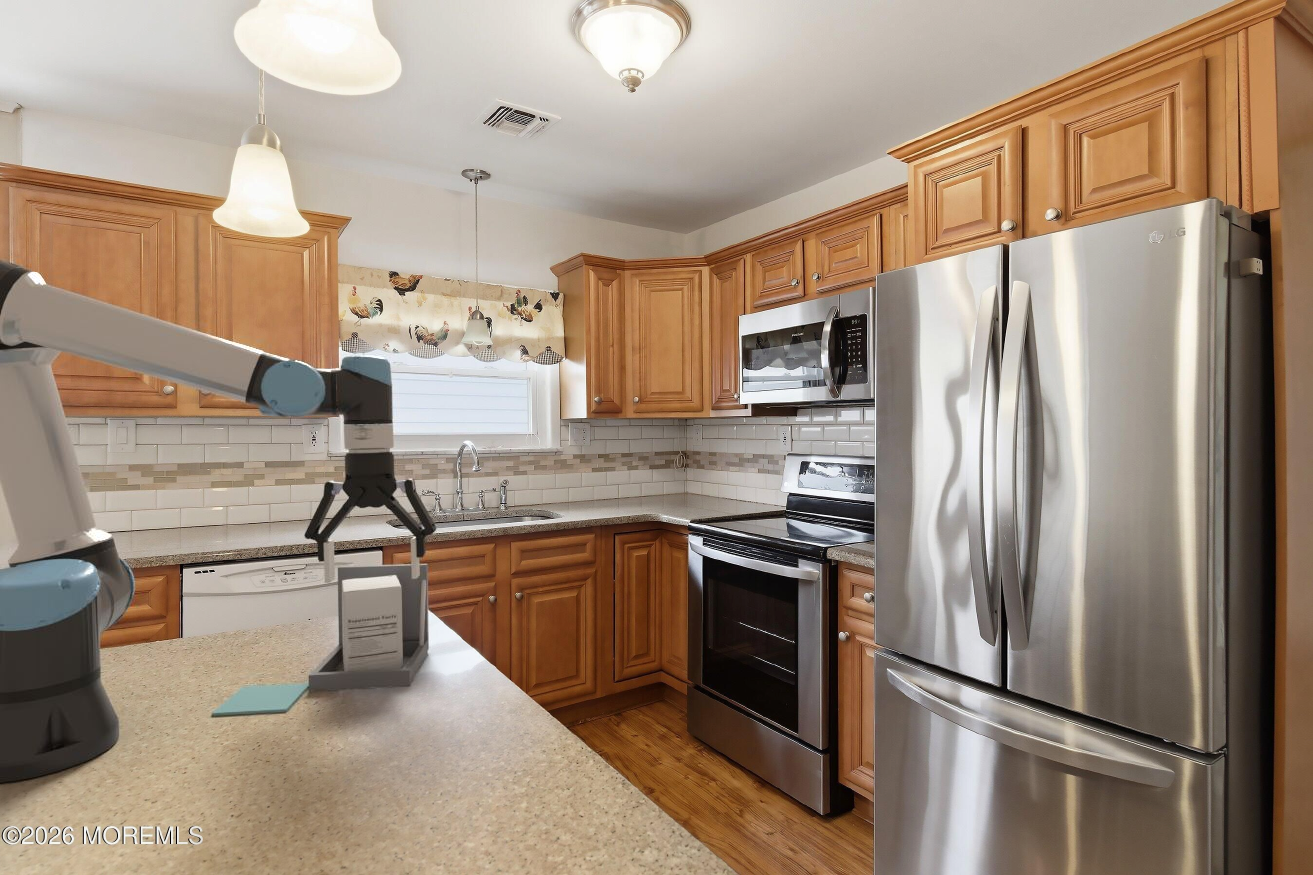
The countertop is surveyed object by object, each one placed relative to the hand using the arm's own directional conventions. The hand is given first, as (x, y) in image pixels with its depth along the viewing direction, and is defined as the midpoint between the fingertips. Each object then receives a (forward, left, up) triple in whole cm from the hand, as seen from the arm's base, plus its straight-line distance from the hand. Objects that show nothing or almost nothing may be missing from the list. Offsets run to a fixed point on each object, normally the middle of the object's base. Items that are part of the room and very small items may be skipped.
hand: (373, 579), depth 116 cm
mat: (-13, -10, -15) cm, 23 cm away
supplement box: (0, 0, -16) cm, 16 cm away
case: (0, 0, -15) cm, 15 cm away
